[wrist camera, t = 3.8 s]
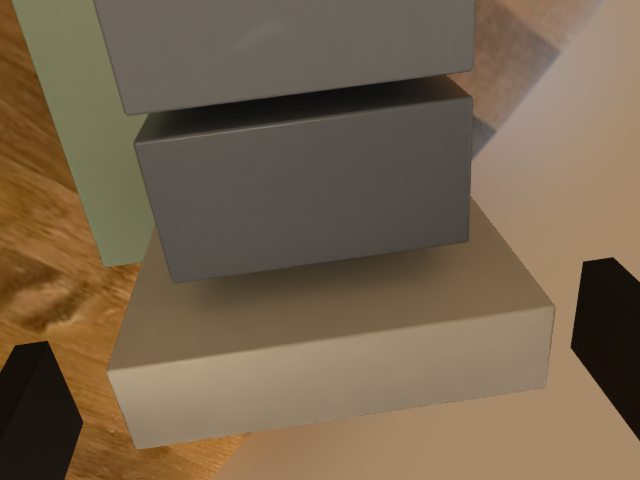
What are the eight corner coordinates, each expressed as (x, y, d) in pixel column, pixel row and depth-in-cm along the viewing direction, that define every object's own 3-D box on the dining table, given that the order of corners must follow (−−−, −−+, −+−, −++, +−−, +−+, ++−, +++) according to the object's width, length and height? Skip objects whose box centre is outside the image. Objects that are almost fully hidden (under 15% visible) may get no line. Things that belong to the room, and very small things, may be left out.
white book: (421, 130, 23) (557, 306, 13) (422, 187, 24) (546, 389, 14) (173, 164, 23) (104, 372, 12) (187, 219, 24) (134, 451, 14)
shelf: (372, -141, 25) (575, -240, 9) (387, 157, 32) (517, 396, 16) (51, -103, 25) (-324, -138, 9) (136, 191, 32) (15, 472, 16)
